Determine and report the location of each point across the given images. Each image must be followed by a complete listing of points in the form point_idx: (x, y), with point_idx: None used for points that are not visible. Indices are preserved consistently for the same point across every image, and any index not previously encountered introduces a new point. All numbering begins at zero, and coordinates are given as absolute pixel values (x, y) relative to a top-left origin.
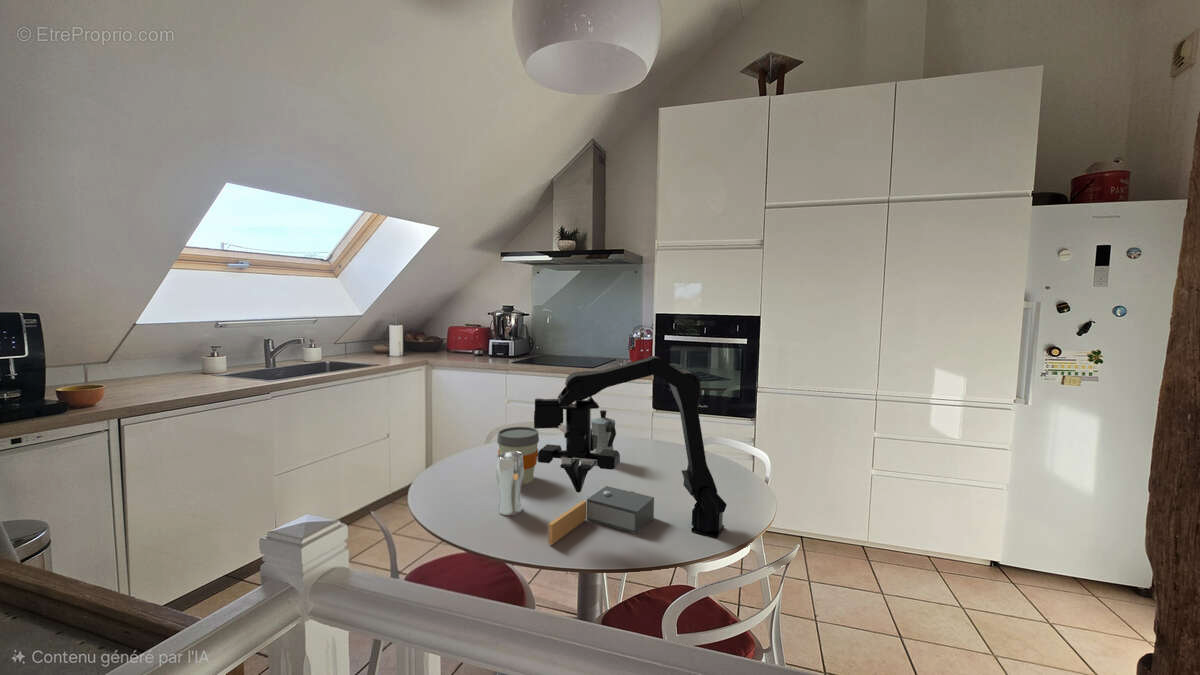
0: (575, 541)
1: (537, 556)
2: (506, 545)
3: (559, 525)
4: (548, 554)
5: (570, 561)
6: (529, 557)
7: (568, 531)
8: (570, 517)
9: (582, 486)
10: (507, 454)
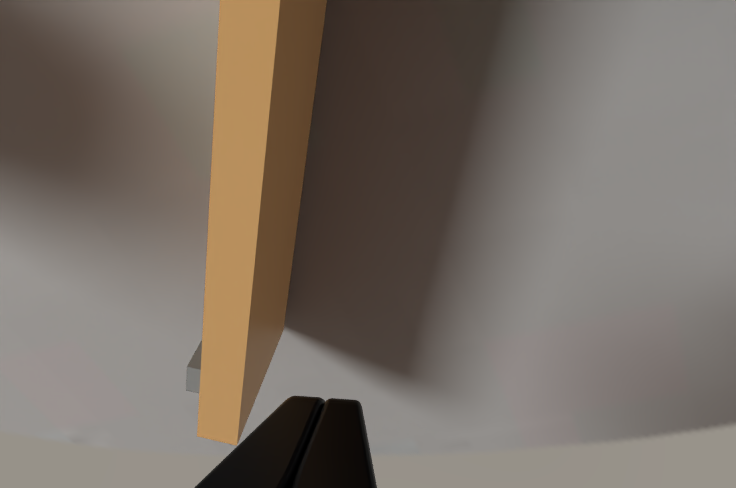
0: (426, 214)
1: None
2: (19, 374)
3: (262, 319)
4: None
5: (486, 443)
6: (228, 451)
7: (310, 122)
8: (281, 138)
9: (374, 481)
10: None
